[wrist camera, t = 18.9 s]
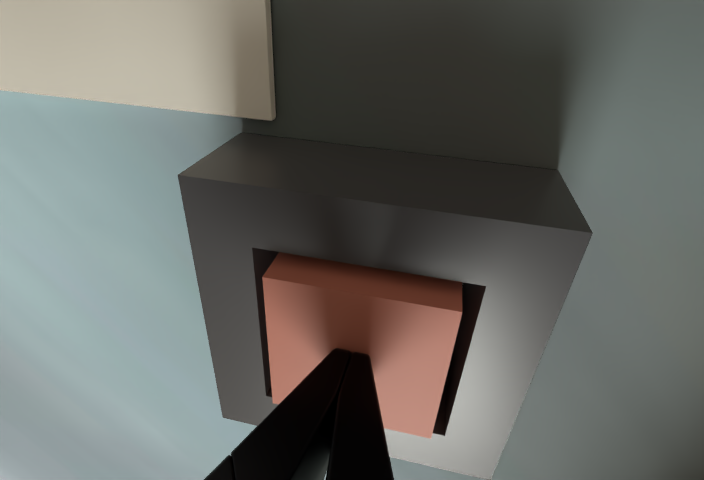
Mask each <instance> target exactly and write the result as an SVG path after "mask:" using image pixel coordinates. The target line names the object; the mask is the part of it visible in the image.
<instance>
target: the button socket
mask: <svg viewBox="0 0 704 480" xmlns="http://www.w3.org/2000/svg"><path fill="white" fill-rule="evenodd" d="M178 179H179V184H180V190H181V195H182V200H183V206H184V211H185V216H186V222H187V227H188V233H189V238H190V243H191V249H192V254H193V259H194V265H195V270H196V276H197V281H198V286H199V292H200V297H201V302H202V308H203V313H204V319H205V324H206V329H207V335H208V340H209V345H210V351H211V356H212V362H213V367H214V372H215V378H216V383H217V388H218V394H219V399H220V405H221V410H222V415H223V418H227V419H231V420H236V421H240V422H244V423H248V424H253V425H257V426H258V425H259V424H260V423H261V422H262V421H263V420H264V419H265V418H266V417H267V416H268V415H269V414H270V413H271V412H272V411H273V410H274V409H275V408H276V407H277V406H278V405H279V404H274V403H273V400H272V388H271V376H270V363H269V351H268V339H267V327H266V315H265V303H264V290H263V278H262V277H263V275H264V274H265V272H266V271H267V269H268V268H269V267H270V265H271V264H272V262H273V261H274V259H275V258H276V256H277V255H278V253H279V252H283V253H289V254H295V255H301V256H307V257H313V258H319V259H325V260H331V261H337V262H343V263H349V264H355V265H361V266H367V267H374V268H380V269H386V270H392V271H398V272H404V273H410V274H416V275H422V276H428V277H434V278H440V279H446V280H452V281H459V282H464V285H463V289H462V316H461V320H460V324H459V328H458V332H457V336H456V340H455V344H454V348H453V352H452V356H451V361H450V365H449V369H448V373H447V377H446V381H445V385H444V389H443V393H442V397H441V401H440V405H439V409H438V413H437V417H436V421H435V425H434V429H433V433H432V437H431V439H430V438H425V437H421V436H416V435H412V434H407V433H403V432H399V431H394V430H390V429H385V428H384V431H385V436H386V442H387V447H388V452H389V457H393V458H397V459H401V460H406V461H410V462H414V463H418V464H423V465H427V466H431V467H435V468H439V469H444V470H448V471H452V472H456V473H461V474H465V475H469V476H473V477H478V478H482V479H486V480H491V479H492V476H493V474H494V471H495V469H496V466H497V464H498V462H499V459H500V457H501V454H502V452H503V450H504V447H505V445H506V442H507V440H508V437H509V435H510V433H511V430H512V428H513V425H514V423H515V420H516V418H517V416H518V413H519V411H520V408H521V406H522V403H523V401H524V399H525V396H526V394H527V391H528V389H529V386H530V384H531V382H532V379H533V377H534V374H535V372H536V369H537V367H538V365H539V362H540V360H541V357H542V355H543V352H544V350H545V348H546V345H547V343H548V340H549V338H550V335H551V333H552V331H553V328H554V326H555V323H556V321H557V318H558V316H559V314H560V311H561V309H562V306H563V304H564V301H565V299H566V297H567V294H568V292H569V289H570V287H571V284H572V282H573V280H574V277H575V275H576V272H577V270H578V267H579V265H580V263H581V260H582V258H583V255H584V253H585V251H586V248H587V246H588V243H589V241H590V238H591V236H592V234H593V233H592V231H591V229H590V227H589V225H588V224H587V222H586V220H585V218H584V216H583V215H582V213H581V211H580V209H579V207H578V205H577V204H576V202H575V200H574V198H573V196H572V195H571V193H570V191H569V189H568V187H567V186H566V184H565V182H564V180H563V178H562V176H561V175H560V173H559V171H558V170H551V169H543V168H534V167H526V166H517V165H509V164H501V163H492V162H484V161H475V160H467V159H459V158H450V157H442V156H434V155H425V154H417V153H408V152H400V151H392V150H383V149H375V148H367V147H358V146H350V145H341V144H333V143H325V142H316V141H308V140H300V139H291V138H283V137H274V136H266V135H258V134H249V133H240V134H238V135H237V136H235V137H234V138H232V139H231V140H229V141H228V142H226V143H225V144H223V145H222V146H220V147H219V148H217V149H216V150H214V151H213V152H211V153H210V154H208V155H207V156H205V157H204V158H202V159H201V160H199V161H198V162H196V163H195V164H193V165H192V166H190V167H189V168H187V169H186V170H184V171H183V172H181V173H180V174H178Z"/></svg>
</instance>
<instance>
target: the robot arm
mask: <svg viewBox="0 0 704 480" xmlns="http://www.w3.org/2000/svg"><path fill="white" fill-rule="evenodd" d="M326 471H327V475H326V480H394V478H393V472H392V467H391V462H390V457H389V452H388V447H387V442H386V436H385V431H384V426H383V421H382V416H381V411H380V405H379V400H378V395H377V390H376V385H375V380H374V374H373V369H372V364H371V359H370V356H369V355H368V354H364V353H359V352H353V353H351V351H349V350H344V349H339V348H335V349H333V350H332V351H331V352H330V353H329V354H328V355H327V356H326V357H325V358H324V359H323V360H322V361H321V362H320V363H319V364H318V365H317V366H316V367H315V368H314V369H313V370H312V371H311V372H310V373H309V374H308V375H307V376H306V377H305V378H304V379H303V380H302V381H301V382H300V383H299V384H298V385H297V386H296V387H295V388H294V389H293V391H292V392H291V393H290V394H289V395H288V396H287V397H286V398H285V399H284V400H283V401H282V402H281V403H280V404H279V405H278V406H277V407H276V408H275V409H274V410H273V411H272V412H271V413H270V414H269V415H268V416H267V417H266V418H265V419H264V420H263V421H262V422H261V423H260V424H259V425H258V426H257V427H256V428H255V429H254V430H253V431H252V432H251V433H250V434H249V435H248V436H247V437H246V438H245V439H244V440H243V441H242V442H241V443H240V444H239V445H238V446H237V447H236V448H235V449H234V450H233V451H232V452H231V456H230V455H228V456H227V457H226V458H225V459H224V460H223V461H222V462H221V463H220V464H219V465H218V466H217V467H216V468H215V469H214V470H213V471H212V472H211V473H210V474H209V475H208V476H207V477H206V478H205V479H204V480H324V477H325V474H326Z"/></svg>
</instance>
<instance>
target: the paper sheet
mask: <svg viewBox="0 0 704 480" xmlns="http://www.w3.org/2000/svg"><path fill="white" fill-rule="evenodd" d="M0 90H4V91H13V92H22V93H31V94H39V95H48V96H57V97H66V98H75V99H84V100H92V101H101V102H110V103H119V104H128V105H137V106H145V107H154V108H163V109H172V110H181V111H190V112H198V113H207V114H216V115H225V116H234V117H243V118H251V119H260V120H269V121H272V120H273V119H275V118H276V108H275V87H274V67H273V46H272V25H271V5H270V0H0Z"/></svg>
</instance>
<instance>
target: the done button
mask: <svg viewBox="0 0 704 480" xmlns="http://www.w3.org/2000/svg"><path fill="white" fill-rule="evenodd" d="M262 278H263V290H264V303H265V315H266V327H267V339H268V351H269V363H270V376H271V388H272V400H273V403H274V404H280V403H281V402H282V401H283V400H284V399H285V398H286V397H287V396H288V395H289V394H290V393H291V392H292V391H293V389H294V388H295V387H296V386H297V385H298V384H299V383H300V382H301V381H302V380H303V379H304V378H305V377H306V376H307V375H308V374H309V373H310V372H311V371H312V370H313V369H314V368H315V367H316V366H317V365H318V364H319V363H320V362H321V361H322V360H323V359H324V358H325V357H326V356H327V355H328V354H329V353H330V352H331V351H332V350H333V349H335V348H339V349H344V350H349V351H351V353H353V352H359V353H364V354H368V355H369V356H370V359H371V364H372V369H373V374H374V380H375V385H376V390H377V395H378V400H379V405H380V411H381V416H382V421H383V426H384V428H385V429H390V430H394V431H399V432H403V433H407V434H412V435H416V436H421V437H425V438H430V439H431V437H432V433H433V429H434V425H435V421H436V417H437V413H438V409H439V405H440V401H441V397H442V393H443V389H444V385H445V381H446V377H447V373H448V369H449V365H450V361H451V356H452V352H453V348H454V344H455V340H456V336H457V332H458V328H459V324H460V320H461V316H462V282H459V281H452V280H446V279H440V278H434V277H428V276H422V275H416V274H410V273H404V272H398V271H392V270H386V269H380V268H374V267H367V266H361V265H355V264H349V263H343V262H337V261H331V260H325V259H319V258H313V257H307V256H301V255H295V254H289V253H283V252H279V253H278V255H277V256H276V258H275V259H274V261H273V262H272V264H271V265H270V267H269V268H268V269H267V271H266V272H265V274H264V275H263V277H262Z"/></svg>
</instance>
